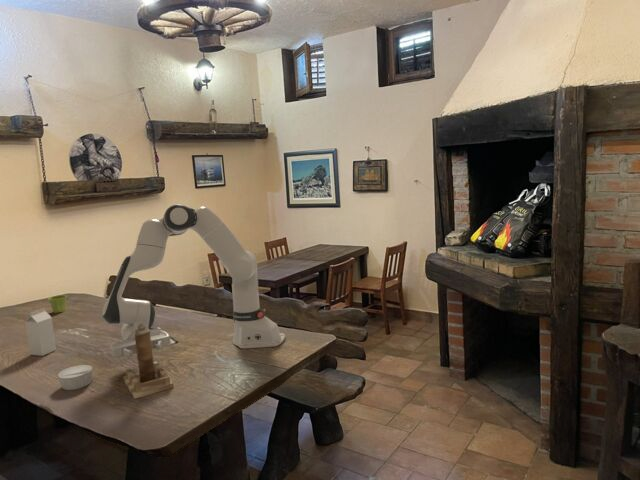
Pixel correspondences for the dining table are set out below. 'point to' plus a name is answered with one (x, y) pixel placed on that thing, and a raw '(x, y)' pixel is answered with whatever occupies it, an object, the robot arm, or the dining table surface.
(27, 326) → the milk carton
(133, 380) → the rack
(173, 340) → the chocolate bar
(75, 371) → the ramekin
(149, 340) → the pepper mill
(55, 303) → the plant pot
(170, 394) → the dining table surface
